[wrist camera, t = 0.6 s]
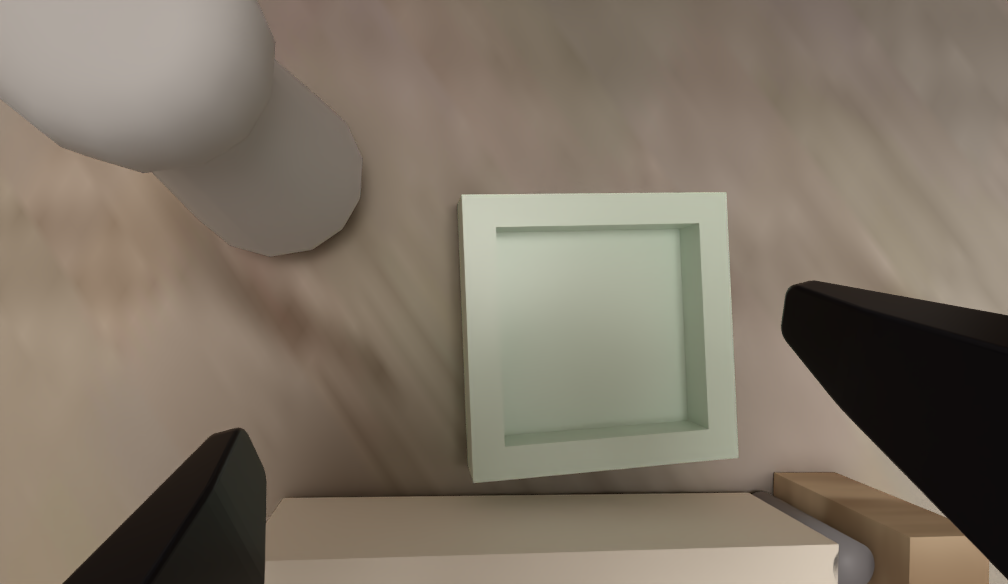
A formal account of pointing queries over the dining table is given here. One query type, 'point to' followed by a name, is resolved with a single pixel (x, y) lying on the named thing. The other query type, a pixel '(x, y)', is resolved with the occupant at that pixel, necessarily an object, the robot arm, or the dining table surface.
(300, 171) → the salt shaker
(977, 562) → the gate post
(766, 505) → the gate
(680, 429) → the tray
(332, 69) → the dining table surface
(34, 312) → the dining table surface
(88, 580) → the robot arm
